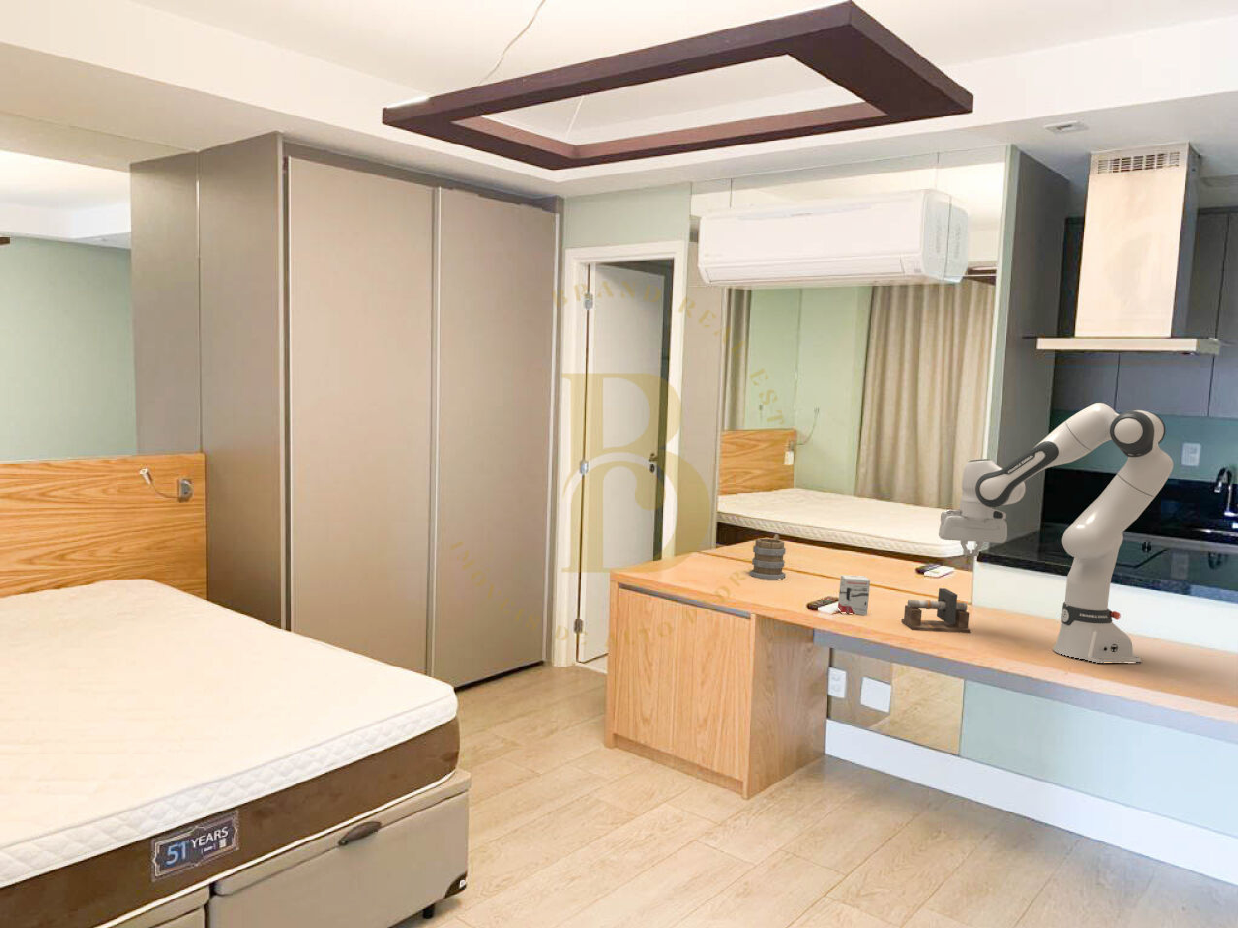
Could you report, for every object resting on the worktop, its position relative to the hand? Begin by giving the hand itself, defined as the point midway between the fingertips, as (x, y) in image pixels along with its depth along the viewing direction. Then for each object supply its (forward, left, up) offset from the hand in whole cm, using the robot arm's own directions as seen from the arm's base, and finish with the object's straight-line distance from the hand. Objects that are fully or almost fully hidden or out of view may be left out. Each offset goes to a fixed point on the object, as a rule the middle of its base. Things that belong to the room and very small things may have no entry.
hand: (970, 555), depth 285 cm
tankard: (+46, -71, -23) cm, 88 cm away
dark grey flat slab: (+6, 0, -21) cm, 21 cm away
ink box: (+31, -14, -23) cm, 41 cm away
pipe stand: (+9, 0, -23) cm, 25 cm away
